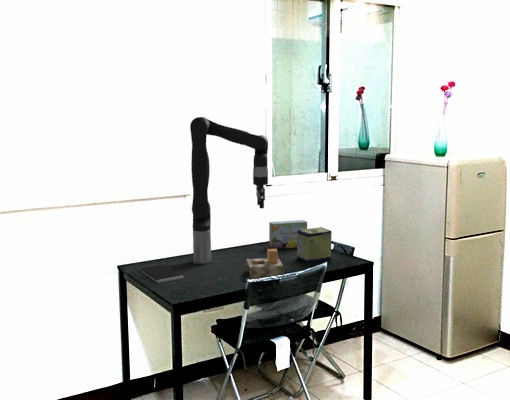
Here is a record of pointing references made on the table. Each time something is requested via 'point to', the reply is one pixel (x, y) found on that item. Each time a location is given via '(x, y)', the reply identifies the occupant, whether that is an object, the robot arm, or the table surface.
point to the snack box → (285, 233)
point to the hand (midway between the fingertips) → (260, 206)
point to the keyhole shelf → (263, 268)
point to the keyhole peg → (272, 255)
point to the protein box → (314, 244)
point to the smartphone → (160, 273)
